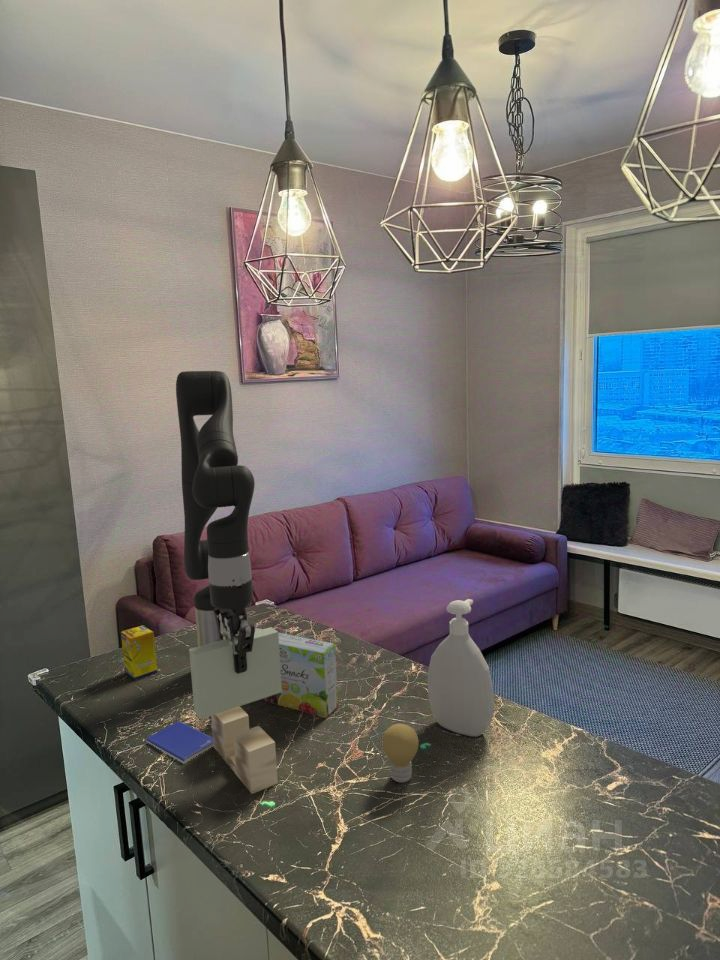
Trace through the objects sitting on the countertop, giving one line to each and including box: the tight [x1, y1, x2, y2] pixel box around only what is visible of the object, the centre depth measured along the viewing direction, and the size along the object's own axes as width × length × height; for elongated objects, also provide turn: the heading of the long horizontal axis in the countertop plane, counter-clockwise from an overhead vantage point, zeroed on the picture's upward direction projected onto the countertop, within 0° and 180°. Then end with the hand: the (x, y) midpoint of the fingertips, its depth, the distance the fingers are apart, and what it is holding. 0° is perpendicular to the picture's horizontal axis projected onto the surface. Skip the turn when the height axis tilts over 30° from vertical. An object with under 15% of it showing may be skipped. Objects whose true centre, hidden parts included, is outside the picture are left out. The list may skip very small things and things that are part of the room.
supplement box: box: [120, 624, 158, 681], centre depth 160 cm, size 6×6×11 cm
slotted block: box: [210, 706, 278, 795], centre depth 121 cm, size 18×5×8 cm, turn 34°
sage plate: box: [188, 626, 282, 720], centre depth 119 cm, size 3×16×12 cm, turn 124°
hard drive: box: [145, 720, 214, 765], centre depth 130 cm, size 2×8×12 cm
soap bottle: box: [427, 598, 495, 737], centre depth 130 cm, size 14×8×27 cm, turn 53°
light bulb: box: [381, 723, 419, 784], centre depth 115 cm, size 6×6×10 cm
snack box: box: [255, 627, 339, 718], centre depth 143 cm, size 21×6×15 cm, turn 62°
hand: (237, 667), depth 119 cm, fingers closed on sage plate, 3 cm apart
